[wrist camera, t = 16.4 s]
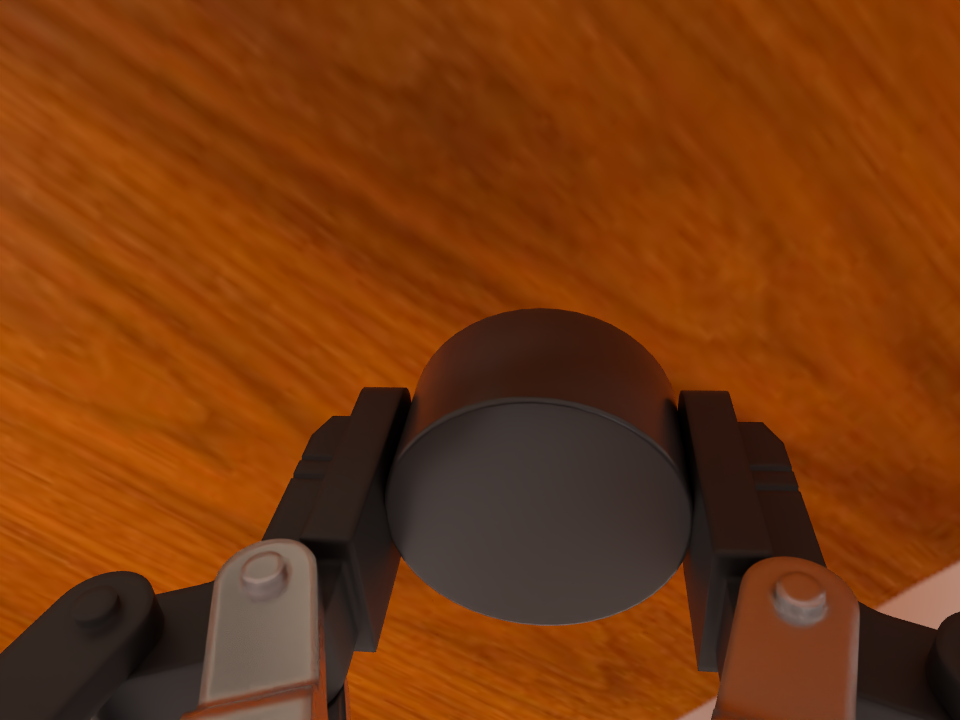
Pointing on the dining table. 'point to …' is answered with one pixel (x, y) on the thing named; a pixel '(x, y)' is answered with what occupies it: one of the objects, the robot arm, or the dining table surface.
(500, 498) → the dot
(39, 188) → the dining table surface
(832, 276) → the dining table surface
